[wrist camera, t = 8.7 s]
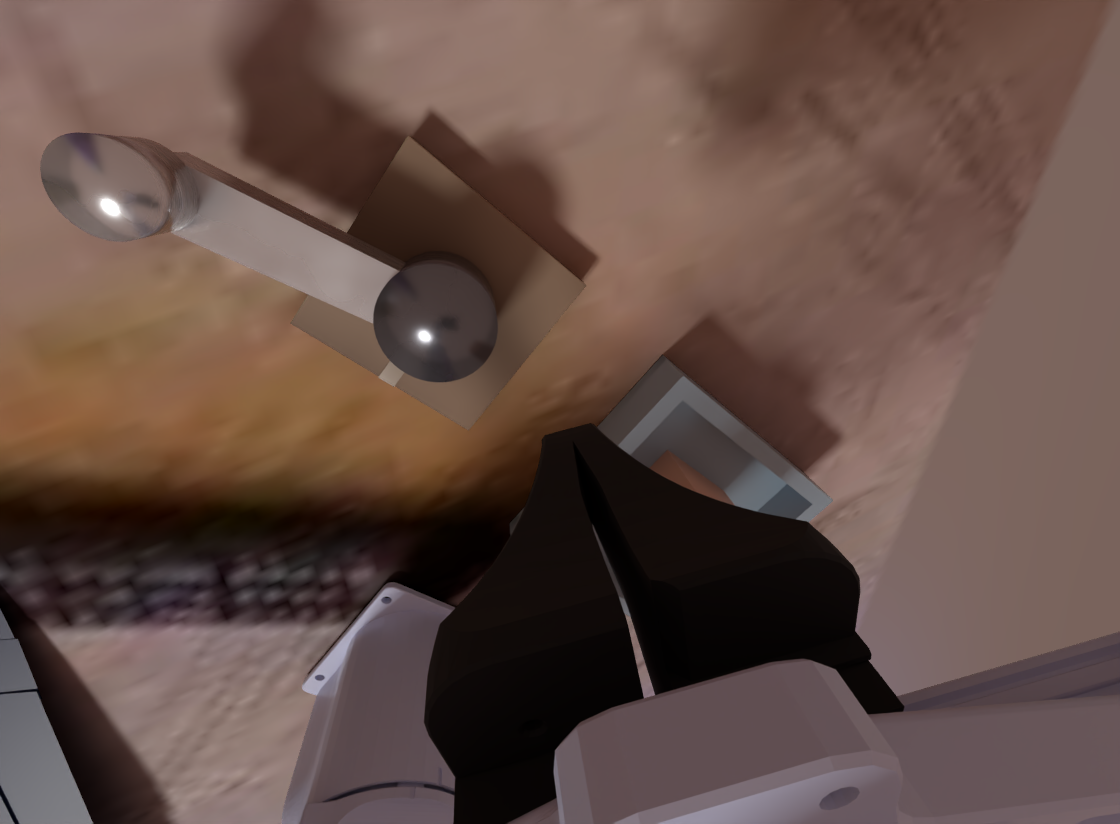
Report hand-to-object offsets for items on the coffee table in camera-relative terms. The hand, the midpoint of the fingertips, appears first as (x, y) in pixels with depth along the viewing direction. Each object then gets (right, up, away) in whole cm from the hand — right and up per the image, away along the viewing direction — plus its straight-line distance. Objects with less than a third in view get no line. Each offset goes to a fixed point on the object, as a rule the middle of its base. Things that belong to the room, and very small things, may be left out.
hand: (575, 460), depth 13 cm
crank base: (-5, +6, +7) cm, 10 cm away
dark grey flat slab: (-39, -20, +15) cm, 46 cm away
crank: (-8, +7, +4) cm, 12 cm away
